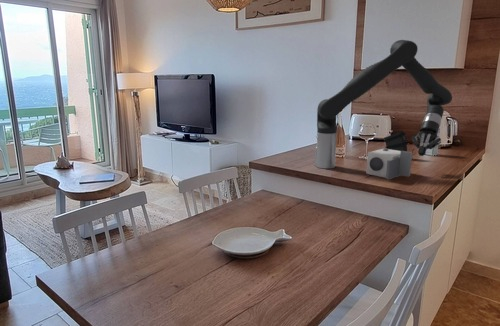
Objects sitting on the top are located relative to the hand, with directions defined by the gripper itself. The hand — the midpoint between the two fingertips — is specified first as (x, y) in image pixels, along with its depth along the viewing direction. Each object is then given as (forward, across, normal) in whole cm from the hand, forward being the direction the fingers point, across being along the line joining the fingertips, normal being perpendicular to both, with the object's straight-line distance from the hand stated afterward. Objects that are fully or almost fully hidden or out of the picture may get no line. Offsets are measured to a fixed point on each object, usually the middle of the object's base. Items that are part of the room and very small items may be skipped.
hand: (421, 154), depth 155 cm
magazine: (-15, -21, +28) cm, 38 cm away
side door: (+17, -4, -6) cm, 19 cm away
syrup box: (-29, -7, +42) cm, 52 cm away
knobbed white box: (+12, -12, +1) cm, 17 cm away
